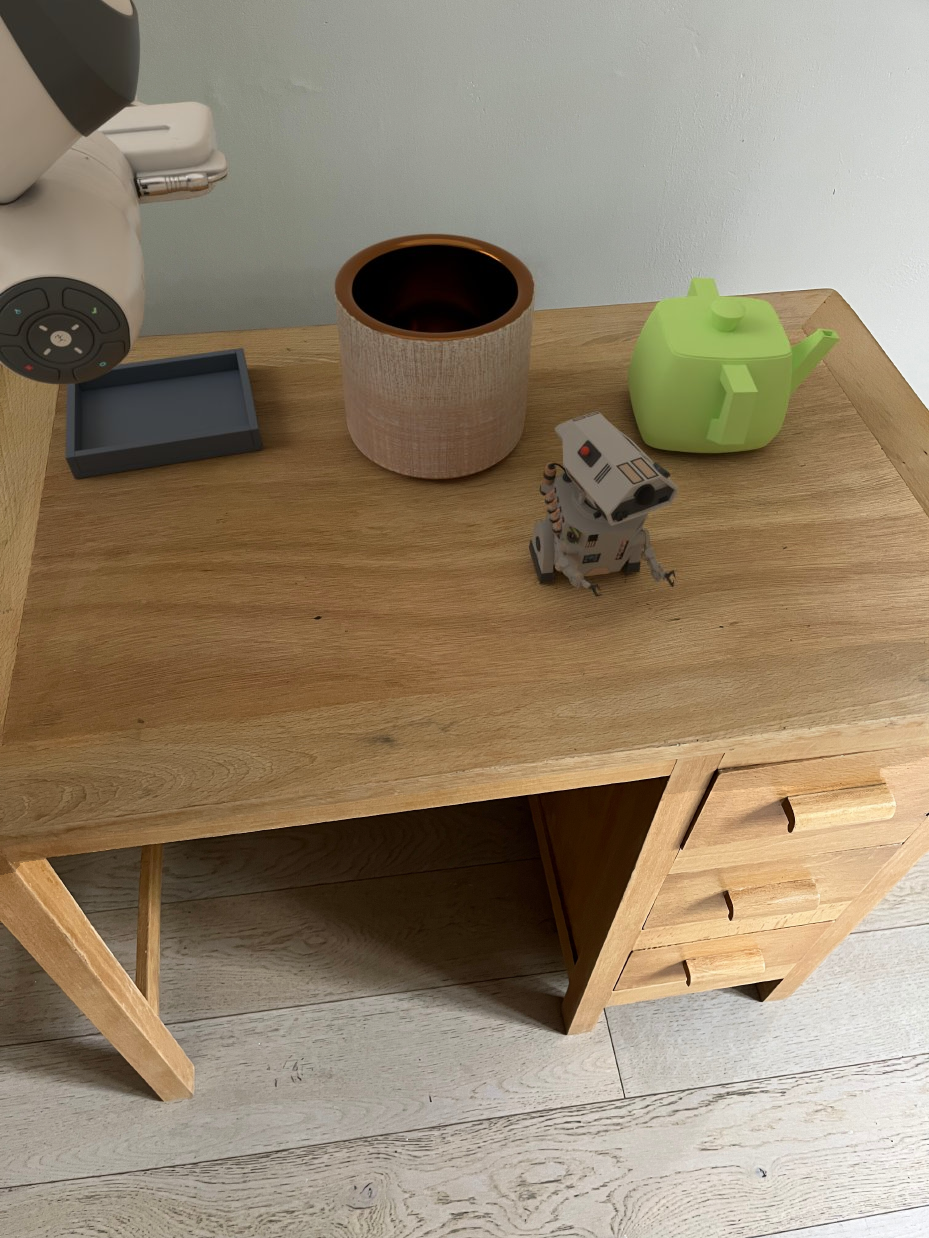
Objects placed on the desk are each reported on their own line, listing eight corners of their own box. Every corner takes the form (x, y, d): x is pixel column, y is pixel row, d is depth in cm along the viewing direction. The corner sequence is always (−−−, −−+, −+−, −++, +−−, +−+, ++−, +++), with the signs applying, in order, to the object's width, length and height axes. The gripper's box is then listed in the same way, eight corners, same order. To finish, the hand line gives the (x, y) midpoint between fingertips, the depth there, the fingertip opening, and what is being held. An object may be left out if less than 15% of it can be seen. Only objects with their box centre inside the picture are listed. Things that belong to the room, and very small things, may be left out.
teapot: (778, 363, 94) (819, 250, 84) (832, 488, 82) (888, 372, 72) (612, 363, 94) (633, 249, 84) (641, 488, 81) (670, 372, 71)
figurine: (555, 639, 70) (578, 506, 58) (524, 538, 77) (539, 401, 65) (661, 625, 71) (705, 492, 59) (622, 527, 78) (654, 391, 66)
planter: (369, 502, 79) (356, 355, 67) (332, 388, 90) (314, 244, 78) (548, 468, 83) (567, 323, 71) (492, 363, 93) (500, 221, 81)
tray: (74, 479, 80) (65, 458, 78) (75, 392, 89) (66, 371, 87) (263, 449, 84) (259, 428, 82) (247, 368, 92) (243, 347, 90)
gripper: (222, 130, 54) (204, 51, 62) (-135, 163, 50) (-103, 74, 58) (240, 229, 58) (221, 143, 67) (-83, 265, 55) (-61, 170, 63)
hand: (68, 111), depth 62 cm, fingers closed on beverage cup, 7 cm apart
